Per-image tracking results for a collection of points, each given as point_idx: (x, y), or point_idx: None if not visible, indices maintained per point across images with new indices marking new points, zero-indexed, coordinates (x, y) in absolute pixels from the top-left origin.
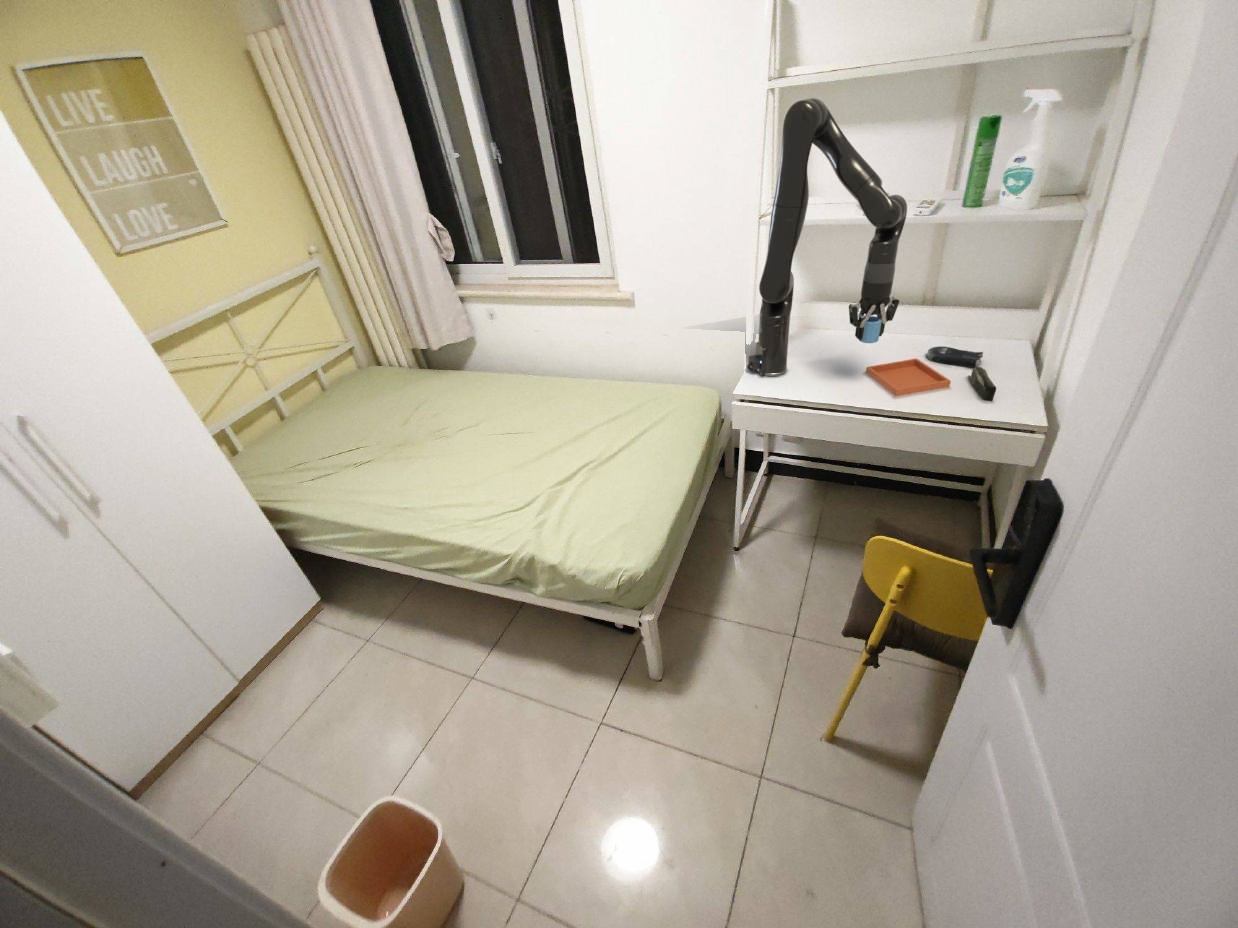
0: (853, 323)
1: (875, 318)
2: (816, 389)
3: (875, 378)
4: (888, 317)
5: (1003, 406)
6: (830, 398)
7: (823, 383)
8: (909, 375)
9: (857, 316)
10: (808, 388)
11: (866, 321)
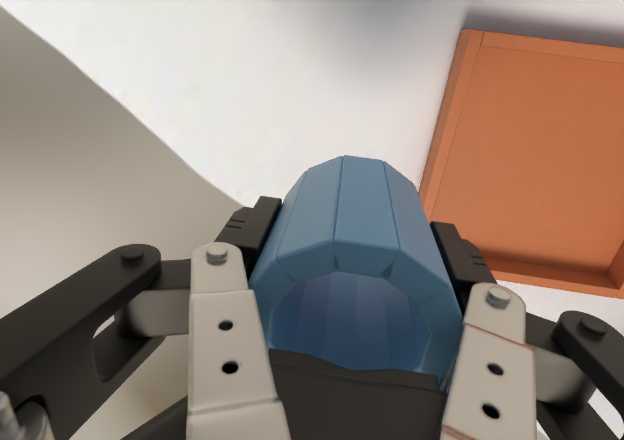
0: (106, 330)
1: (426, 317)
2: (186, 61)
3: (441, 118)
4: (539, 397)
5: (607, 406)
6: (204, 153)
7: (237, 23)
8: (590, 150)
9: (81, 419)
10: (158, 36)
11: (266, 345)
